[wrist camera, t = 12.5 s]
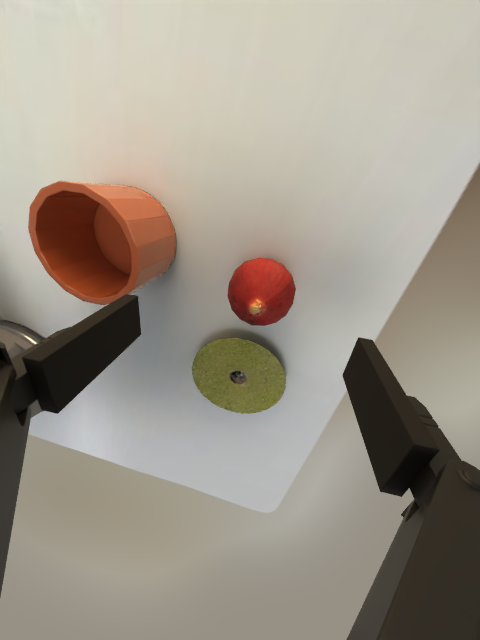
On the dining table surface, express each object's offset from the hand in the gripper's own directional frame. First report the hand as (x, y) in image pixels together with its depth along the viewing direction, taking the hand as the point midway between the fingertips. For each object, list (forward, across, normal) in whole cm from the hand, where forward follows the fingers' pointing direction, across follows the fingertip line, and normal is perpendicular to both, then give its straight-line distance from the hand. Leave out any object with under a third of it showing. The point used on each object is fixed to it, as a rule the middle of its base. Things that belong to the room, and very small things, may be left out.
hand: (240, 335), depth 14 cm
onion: (+12, +1, 0) cm, 12 cm away
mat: (+12, 0, -12) cm, 17 cm away
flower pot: (+12, -13, +2) cm, 18 cm away
